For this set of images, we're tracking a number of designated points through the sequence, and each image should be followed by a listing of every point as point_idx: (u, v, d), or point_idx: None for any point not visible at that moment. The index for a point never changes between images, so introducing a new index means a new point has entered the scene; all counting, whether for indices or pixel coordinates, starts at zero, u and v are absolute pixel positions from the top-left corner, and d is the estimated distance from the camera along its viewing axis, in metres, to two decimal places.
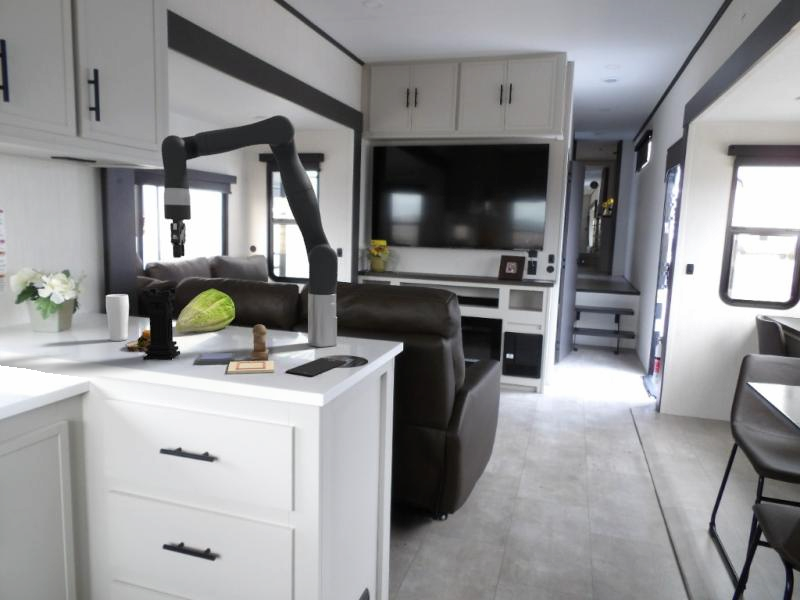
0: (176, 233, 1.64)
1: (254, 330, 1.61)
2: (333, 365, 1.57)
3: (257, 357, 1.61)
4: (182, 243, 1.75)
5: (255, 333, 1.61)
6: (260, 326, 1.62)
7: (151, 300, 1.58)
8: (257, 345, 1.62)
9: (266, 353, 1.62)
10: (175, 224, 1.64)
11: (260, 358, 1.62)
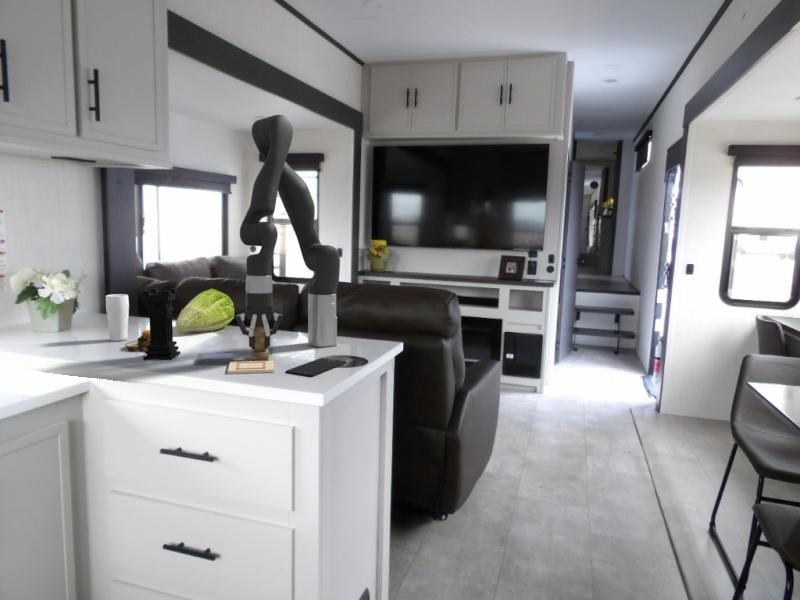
0: None
1: (254, 330, 1.61)
2: (333, 365, 1.57)
3: (257, 357, 1.61)
4: None
5: (255, 333, 1.61)
6: (260, 326, 1.62)
7: (151, 300, 1.58)
8: (257, 345, 1.62)
9: (266, 353, 1.62)
10: None
11: (260, 358, 1.62)
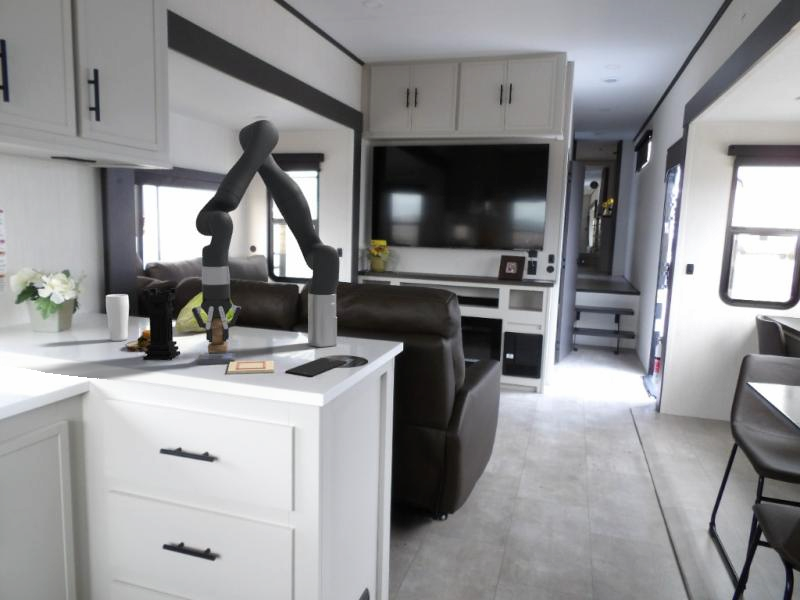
0: None
1: (211, 323, 1.57)
2: (333, 365, 1.56)
3: (215, 350, 1.57)
4: None
5: (212, 326, 1.57)
6: (217, 318, 1.58)
7: (151, 300, 1.58)
8: (215, 338, 1.58)
9: (224, 346, 1.58)
10: (240, 308, 1.60)
11: (218, 352, 1.58)
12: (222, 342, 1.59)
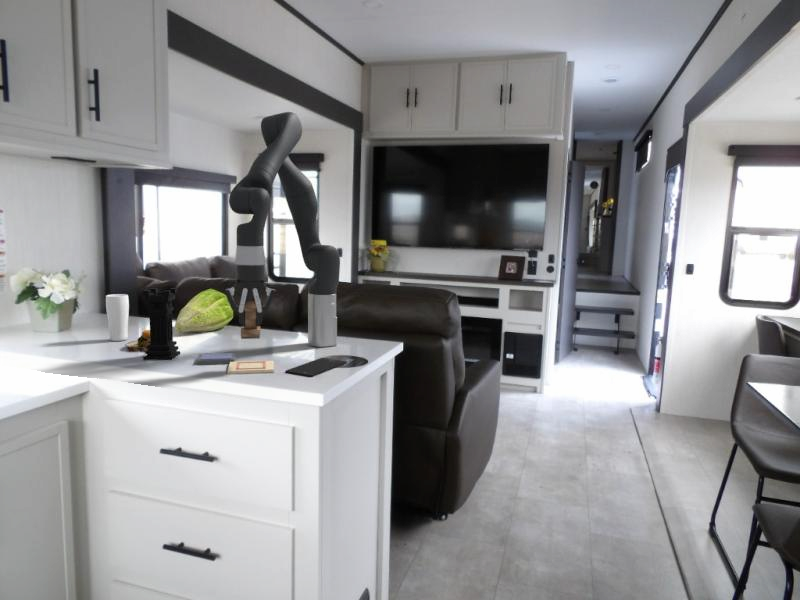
0: None
1: (245, 305, 1.49)
2: (333, 365, 1.56)
3: (248, 335, 1.49)
4: None
5: (246, 309, 1.49)
6: (251, 301, 1.50)
7: (151, 300, 1.58)
8: (248, 322, 1.50)
9: (257, 330, 1.50)
10: None
11: (251, 336, 1.50)
12: (255, 326, 1.51)
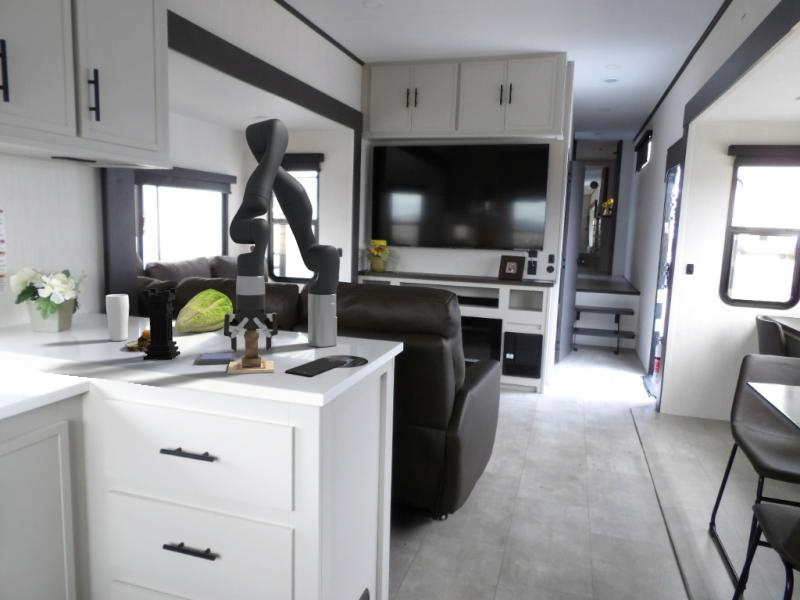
0: None
1: (246, 335, 1.50)
2: (333, 365, 1.56)
3: (249, 364, 1.50)
4: None
5: (247, 338, 1.50)
6: (252, 330, 1.51)
7: (151, 300, 1.58)
8: (249, 351, 1.51)
9: (258, 359, 1.51)
10: (276, 314, 1.53)
11: (252, 365, 1.51)
12: (256, 355, 1.52)
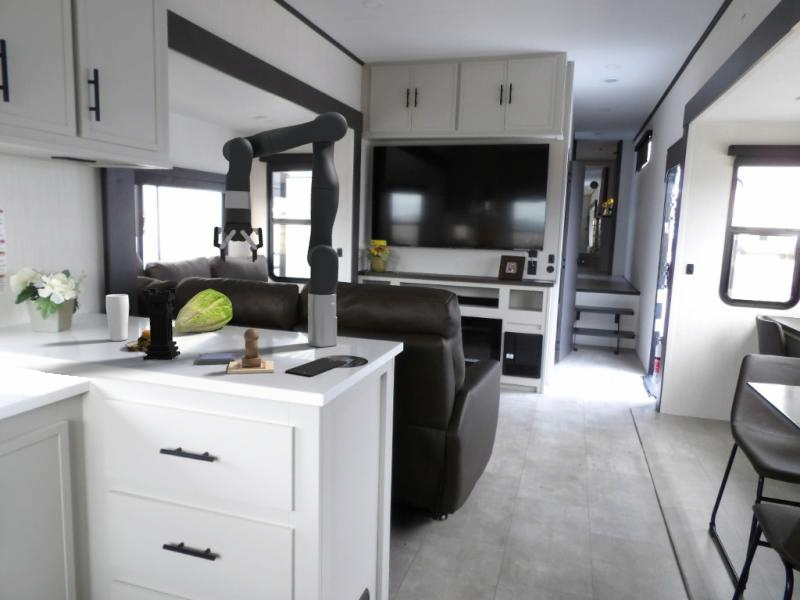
0: None
1: (246, 335, 1.50)
2: (333, 365, 1.56)
3: (249, 364, 1.50)
4: (224, 248, 1.66)
5: (247, 338, 1.50)
6: (252, 330, 1.51)
7: (151, 300, 1.58)
8: (249, 351, 1.51)
9: (258, 359, 1.51)
10: None
11: (252, 365, 1.51)
12: (256, 355, 1.52)
